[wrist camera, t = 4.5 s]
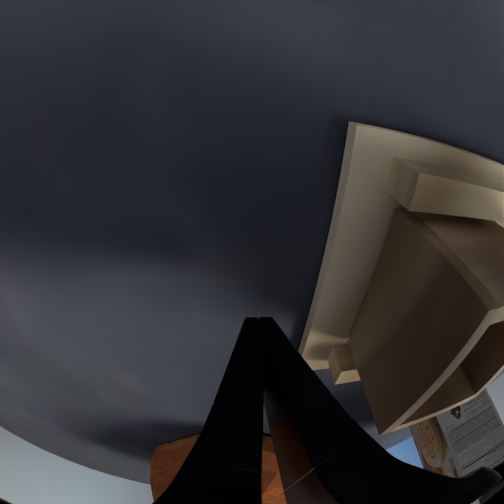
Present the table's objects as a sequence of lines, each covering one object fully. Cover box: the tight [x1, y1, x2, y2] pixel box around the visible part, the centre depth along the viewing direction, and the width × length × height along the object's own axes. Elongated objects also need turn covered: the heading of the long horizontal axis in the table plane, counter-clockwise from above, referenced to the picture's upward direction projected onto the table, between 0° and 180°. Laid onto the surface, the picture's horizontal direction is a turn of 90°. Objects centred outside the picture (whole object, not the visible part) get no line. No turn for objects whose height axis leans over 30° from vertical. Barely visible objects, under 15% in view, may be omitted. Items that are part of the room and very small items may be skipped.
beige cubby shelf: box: [298, 121, 504, 384], centre depth 11 cm, size 20×12×3 cm, turn 87°
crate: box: [347, 208, 504, 436], centre depth 9 cm, size 6×7×5 cm
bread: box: [150, 434, 287, 504], centre depth 23 cm, size 16×27×11 cm, turn 43°
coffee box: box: [409, 388, 504, 478], centre depth 16 cm, size 9×6×16 cm
